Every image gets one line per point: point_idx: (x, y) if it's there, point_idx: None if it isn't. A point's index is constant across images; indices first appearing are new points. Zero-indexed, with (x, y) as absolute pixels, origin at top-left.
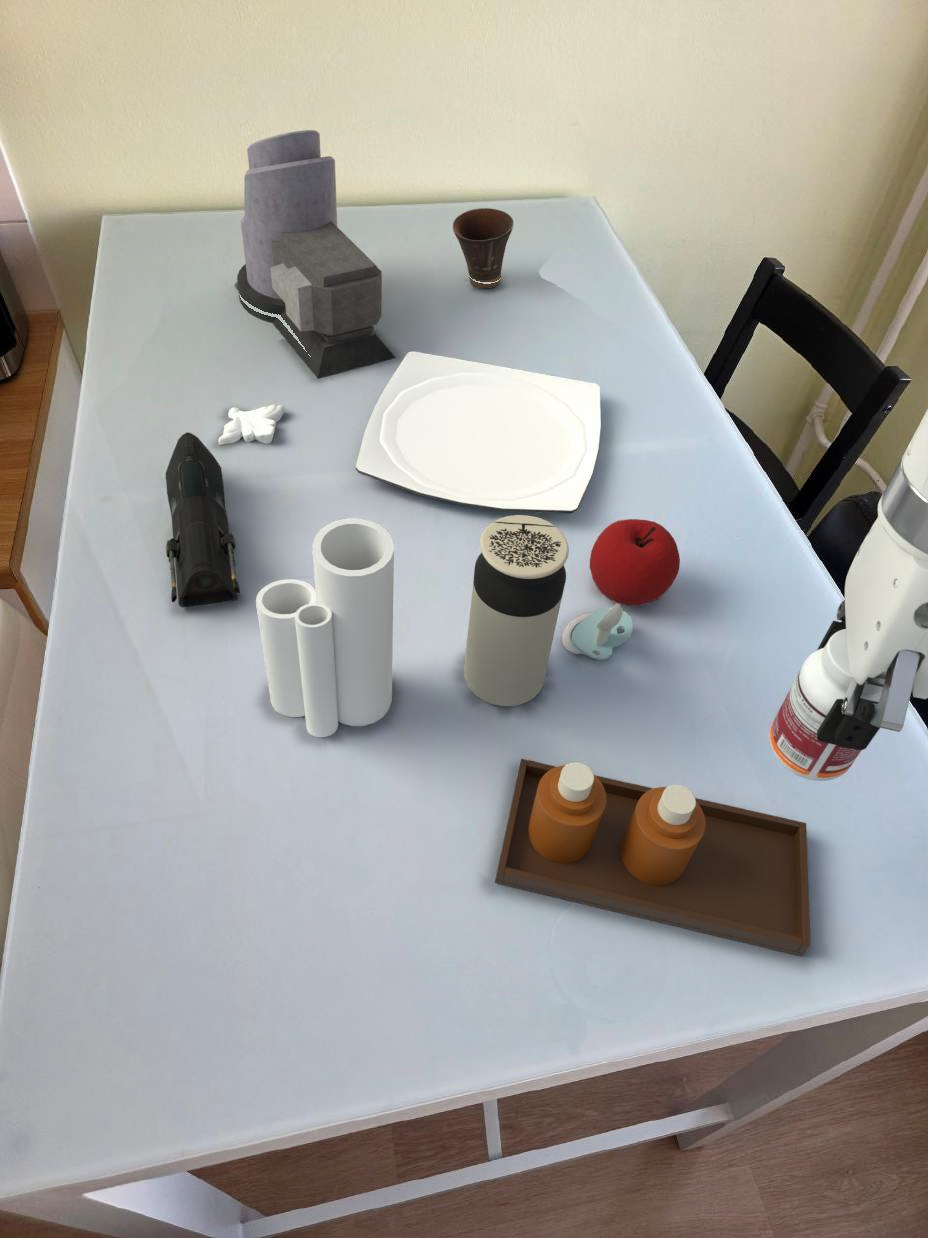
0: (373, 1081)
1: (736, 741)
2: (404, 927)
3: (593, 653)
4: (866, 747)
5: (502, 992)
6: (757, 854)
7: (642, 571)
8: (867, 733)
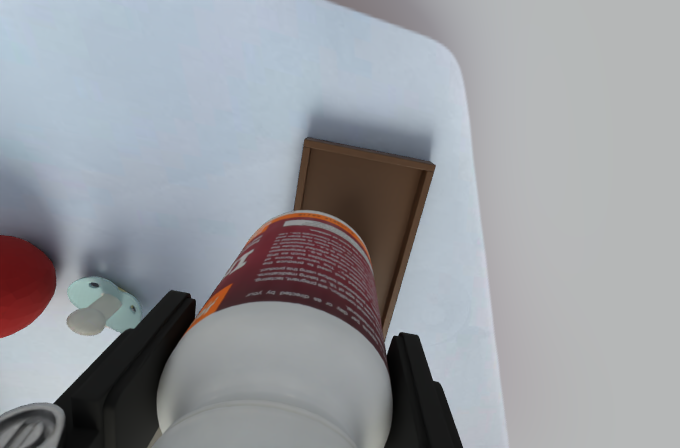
0: (492, 432)
1: (205, 179)
2: None
3: (135, 313)
4: (419, 339)
5: (445, 372)
6: (335, 186)
7: (4, 303)
8: (458, 435)
